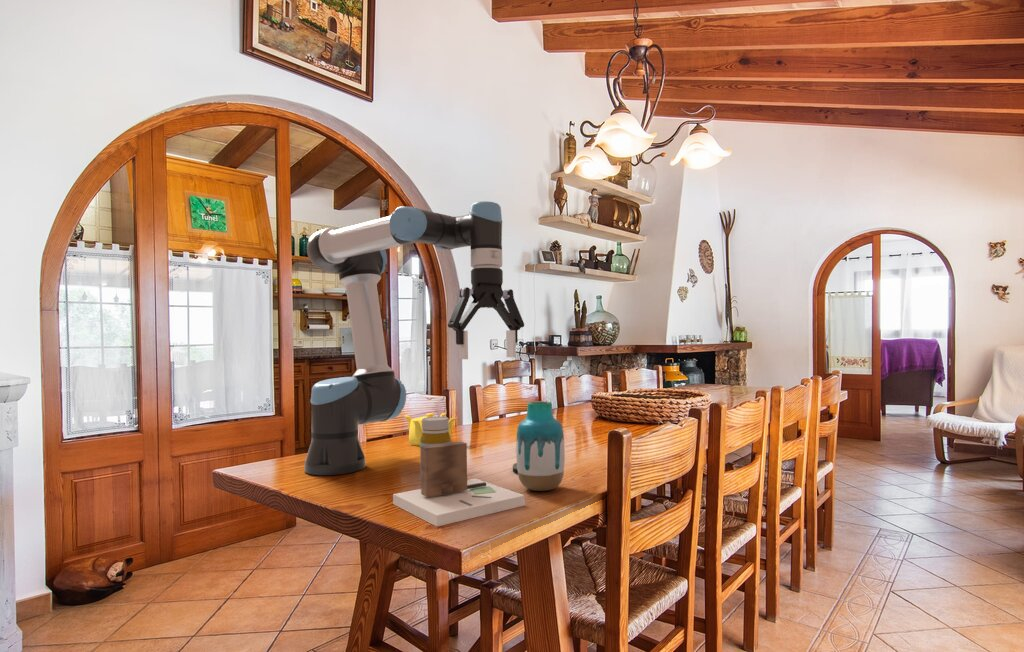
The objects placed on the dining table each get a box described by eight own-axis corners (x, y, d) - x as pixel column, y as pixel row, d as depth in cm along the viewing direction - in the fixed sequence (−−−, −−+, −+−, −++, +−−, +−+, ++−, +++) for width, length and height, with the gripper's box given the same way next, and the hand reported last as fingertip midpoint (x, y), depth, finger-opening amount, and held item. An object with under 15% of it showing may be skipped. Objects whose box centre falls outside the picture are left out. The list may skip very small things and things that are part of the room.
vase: (529, 498, 119) (528, 406, 120) (509, 486, 129) (508, 401, 129) (574, 492, 124) (572, 403, 124) (551, 481, 133) (549, 398, 134)
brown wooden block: (427, 498, 112) (426, 448, 113) (420, 494, 115) (419, 446, 116) (489, 487, 120) (489, 441, 120) (481, 483, 123) (480, 438, 123)
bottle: (445, 487, 129) (444, 420, 129) (416, 486, 131) (415, 420, 131) (455, 480, 136) (454, 416, 136) (427, 479, 137) (426, 416, 138)
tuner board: (393, 504, 117) (393, 493, 117) (475, 487, 129) (475, 477, 129) (436, 526, 103) (436, 514, 103) (524, 505, 115) (524, 494, 115)
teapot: (458, 445, 179) (457, 414, 179) (413, 449, 174) (412, 417, 174) (445, 438, 193) (445, 409, 193) (403, 442, 187) (403, 412, 188)
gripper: (449, 263, 125) (450, 360, 125) (537, 269, 140) (538, 356, 140) (432, 266, 131) (433, 359, 131) (518, 272, 146) (520, 356, 146)
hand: (488, 358), depth 136 cm, fingers open, 13 cm apart
